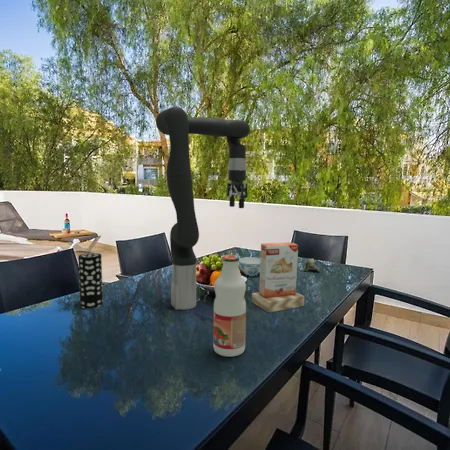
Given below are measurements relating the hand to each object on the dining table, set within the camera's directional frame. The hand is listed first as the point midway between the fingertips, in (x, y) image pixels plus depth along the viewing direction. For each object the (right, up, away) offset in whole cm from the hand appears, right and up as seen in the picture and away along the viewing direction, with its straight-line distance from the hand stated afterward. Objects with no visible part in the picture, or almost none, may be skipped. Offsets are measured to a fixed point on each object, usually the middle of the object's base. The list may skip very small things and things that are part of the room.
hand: (236, 207), depth 146 cm
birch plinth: (+16, -40, -9) cm, 44 cm away
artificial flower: (+37, -34, +45) cm, 67 cm away
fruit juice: (-4, -45, -47) cm, 65 cm away
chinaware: (+9, -34, +35) cm, 50 cm away
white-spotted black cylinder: (-58, -39, -12) cm, 71 cm away
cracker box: (+16, -36, -9) cm, 41 cm away
